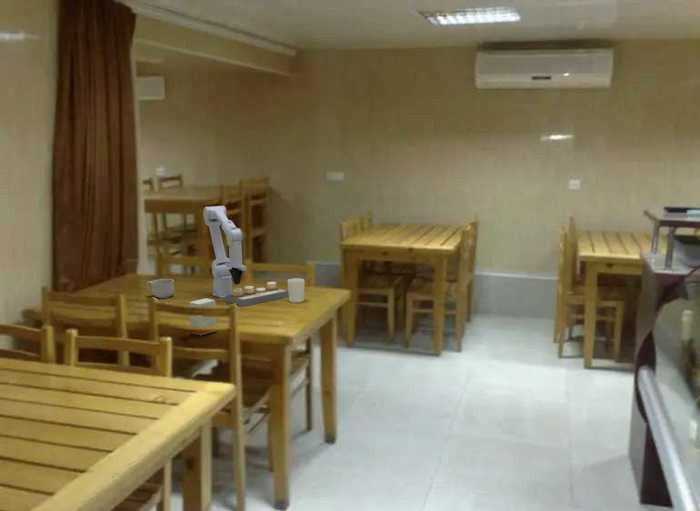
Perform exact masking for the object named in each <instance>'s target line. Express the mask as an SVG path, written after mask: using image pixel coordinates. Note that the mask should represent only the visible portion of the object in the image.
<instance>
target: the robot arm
mask: <svg viewBox="0 0 700 511" xmlns="http://www.w3.org/2000/svg"><path fill="white" fill-rule="evenodd" d="M203 220H204V223H205V225H206V226H208V227H209V233H210V237H211V242H212V247H213V250H214V255H215V259H214V260H213V261H212V263H211V273H212V276H213V280H212V287H213V290H212V291H213V293H211V295H212V296H214V297H217V298H220V299H224V298H226V295H230V294H233V291H232V289H233V287H232V286H233V285H232V284H234V285H235V286H236V285H240V283H241V279H242V275H243V274H244V272H245V271H248V270H247V269H248V268H247V266H246V265H244V264H243V253H242V252H243V251H242V250H243V249H242V247H243V246H242V241H243V240H244V232H243V229H242V228H239V227H238V228H237V226H236V225H235V224H234V222H233V221H232V220H231V219H230V220H229V219H228V217H227V208H226V207H225V206H224V205H217V206H205V207H204V208H203ZM220 226H221V228H220ZM221 229H222V231H224V234H225V235H226V240H227V241H226V242H227V246H228V252H229V253H228V255H229V257H227V255H226V251H225V250H226V249H225V246H224V241H223V237H222V231H221ZM232 281H233V282H232Z"/></svg>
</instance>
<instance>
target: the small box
mask: <svg viewBox="0 0 700 511" xmlns="http://www.w3.org/2000/svg"><path fill="white" fill-rule="evenodd" d="M188 304H189V308H190V307H216V306H217V305H216V300H215V299H211V298H202V299H197V300H193V301H190V302H188ZM216 308H217V307H216ZM189 316H190V315H189ZM189 319H190V320H189V321H190V327H191V326H194V327H199V328H202V327H207V326H217V327H218V324H217V322H218V321H217V317H216V318H209V317H203V316H201V315H198V316H190V318H189Z"/></svg>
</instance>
